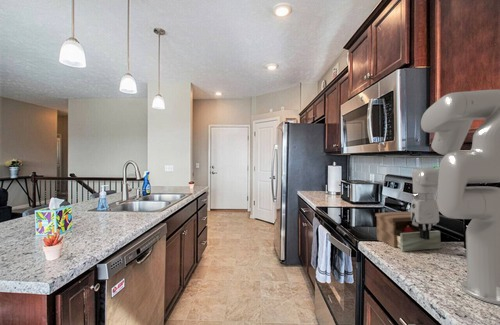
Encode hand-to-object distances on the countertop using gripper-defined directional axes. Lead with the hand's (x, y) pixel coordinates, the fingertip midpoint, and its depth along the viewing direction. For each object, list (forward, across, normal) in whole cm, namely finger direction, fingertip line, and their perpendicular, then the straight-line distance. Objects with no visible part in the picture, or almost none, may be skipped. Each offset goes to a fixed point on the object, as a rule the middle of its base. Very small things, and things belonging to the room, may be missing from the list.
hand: (424, 238), depth 104 cm
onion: (+4, 0, +9) cm, 10 cm away
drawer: (+5, 0, +9) cm, 10 cm away
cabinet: (+6, 0, +13) cm, 14 cm away
